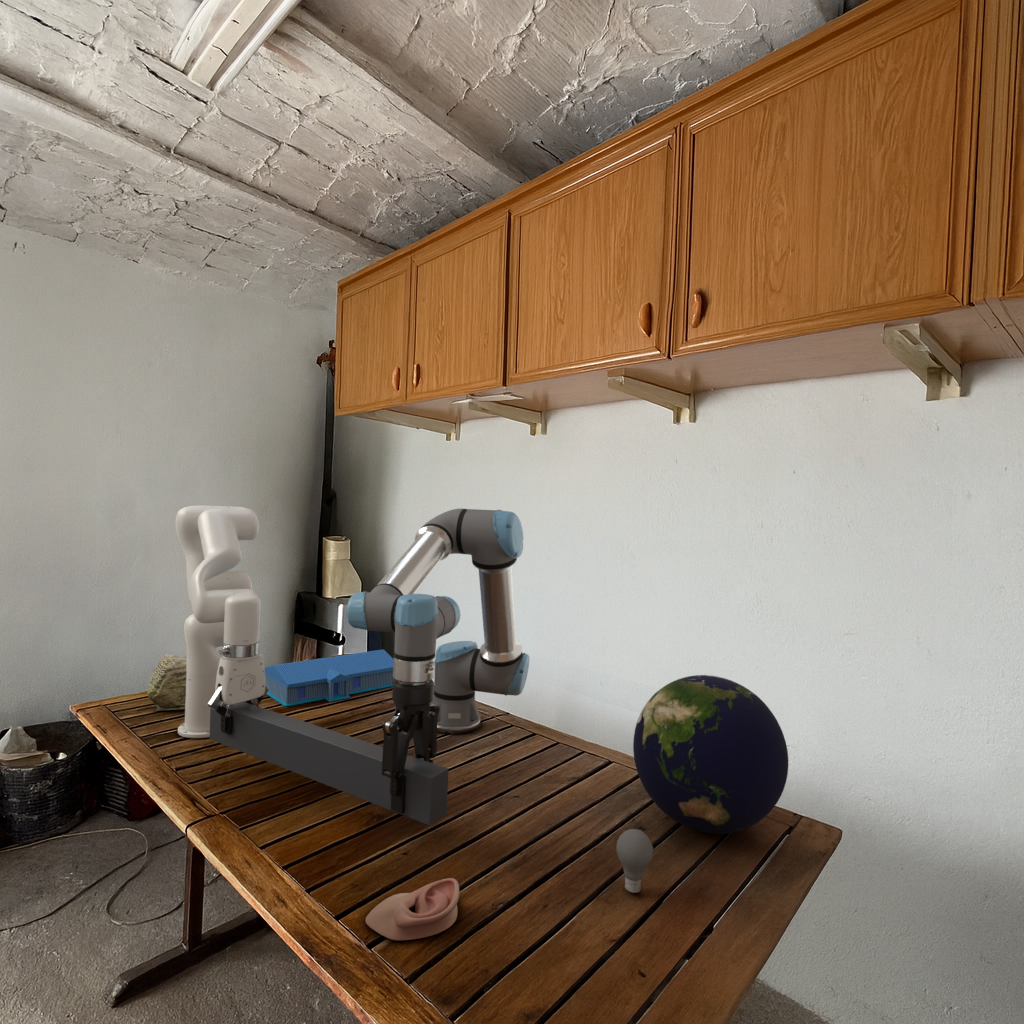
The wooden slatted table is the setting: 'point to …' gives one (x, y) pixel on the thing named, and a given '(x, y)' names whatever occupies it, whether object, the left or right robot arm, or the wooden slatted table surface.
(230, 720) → the left robot arm
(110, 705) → the wooden slatted table surface
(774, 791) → the globe
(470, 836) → the wooden slatted table surface
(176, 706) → the fossil
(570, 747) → the wooden slatted table surface
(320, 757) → the post
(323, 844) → the wooden slatted table surface
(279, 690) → the model building
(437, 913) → the anatomical model
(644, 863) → the light bulb
